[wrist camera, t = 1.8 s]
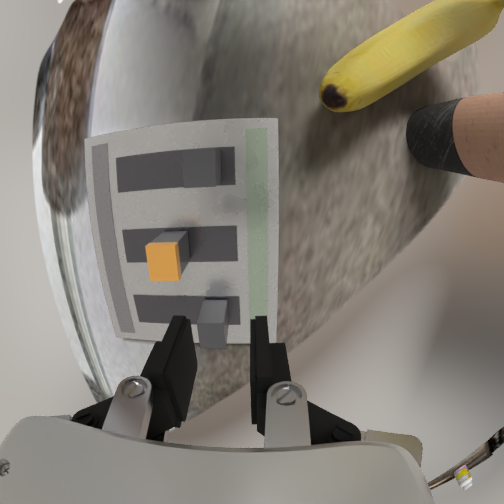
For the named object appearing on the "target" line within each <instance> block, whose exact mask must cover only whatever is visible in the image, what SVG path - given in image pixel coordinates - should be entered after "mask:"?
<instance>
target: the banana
mask: <svg viewBox="0 0 504 504" xmlns="http://www.w3.org/2000/svg"><path fill="white" fill-rule="evenodd" d="M503 8H504V0H435V1H433V2H431V3H429V4H427V5H425V6H424V7H422V8H420V9H418V10H416V11H415V12H413V13H411V14H409V15H408V16H406V17H404V18H403V19H401V20H399V21H397V22H396V23H394V24H392V25H390V26H389V27H387V28H385V29H384V30H382V31H380V32H379V33H377V34H375V35H374V36H372V37H371V38H369V39H367V40H366V41H364V42H363V43H362V44H360V45H359V46H357V47H356V48H354V49H353V50H352V51H350V52H349V53H348V54H346V55H345V56H344V57H343V58H341V59H340V60H339V61H338V62H337V63H335V64H334V65H333V66H332V67H331V68H330V69H329V70H328V71H327V73H326V74H325V76H324V78H323V80H322V83H321V85H320V89H319V97H320V100H321V102H322V103H323V104H324V106H325V107H326V108H328V109H330V110H331V111H334V112H349V111H355V110H359V109H362V108H364V107H366V106H368V105H370V104H371V103H373V102H375V101H377V100H378V99H380V98H382V97H384V96H385V95H387V94H388V93H390V92H392V91H393V90H395V89H396V88H398V87H400V86H401V85H403V84H404V83H406V82H407V81H409V80H411V79H412V78H414V77H415V76H417V75H418V74H420V73H421V72H423V71H425V70H426V69H428V68H429V67H431V66H433V65H434V64H436V63H438V62H439V61H441V60H443V59H445V58H447V57H448V56H450V55H452V54H454V53H456V52H457V51H459V50H461V49H463V48H465V47H467V46H468V45H470V44H472V43H474V42H476V41H478V40H479V39H481V38H482V37H484V36H485V35H487V34H488V33H489V32H490V31H491V30H492V29H493V28H494V27H495V25H496V24H497V22H498V19H499V15H500V13H501V11H502V9H503Z"/></svg>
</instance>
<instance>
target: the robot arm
mask: <svg viewBox="0 0 504 504" xmlns="http://www.w3.org/2000/svg"><path fill="white" fill-rule="evenodd" d="M196 372H197V358H196V352H195V346H194V340H193V334H192V327H191V321H190V319H187V318H186V316H179V315H174V316H173V317H172V319H171V322H170V324H169V326H168V328H167V330H166V333H165V335H164V337H163V339H162V342H161V341H157V342H156V343H155V345H154V347H153V349H152V351H151V353H150V355H149V358H148V360H147V362H146V364H145V366H144V368H143V371H142V373H141V375H140V376H131V377H128V378H126V379H124V380H123V381H121V382H120V384H119V385H118V387H117V390H116V392H115V395H114V396H113V397H111V398H109V399H106V400H104V401H102V402H99V403H97V404H95V405H92V406H90V407H87V408H85V409H82V410H80V411H78V412H77V413H76V414H75V415H74V416H73V417H71V416H70V415H61V416H48V417H47V416H31V417H26V418H23V419H21V420H20V421H19V422H18V423H17V424H16V425H15V426H14V427H13V428H12V429H11V431H10V432H9V433H8V435H7V436H6V438H5V439H4V441H3V442H2V444H1V446H0V504H435V502H434V499H433V496H432V494H431V491H430V488H429V486H428V483H427V481H426V479H425V477H424V475H423V473H422V470H421V460H422V450H423V448H422V443H421V441H420V440H419V439H418V438H416V437H415V436H411V435H404V434H394V433H387V432H380V431H373V430H367V432H364V431H360V430H359V429H358V428H357V427H356V426H355V425H353V424H352V423H350V422H347V421H345V420H343V419H342V418H340V417H338V416H336V415H334V414H332V413H329V412H327V411H326V410H324V409H322V408H320V407H318V406H316V405H315V404H313V403H311V402H309V401H307V394H306V391H305V389H304V388H303V387H302V386H301V385H299V384H297V383H295V382H291V376H290V371H289V364H288V359H287V352H286V346H285V343H270V342H269V332H268V321H267V316H255V319H250V386H251V416H252V424H257V431H258V432H259V433H261V434H262V435H263V436H265V439H264V448H221V447H204V446H203V447H202V446H192V445H182V444H174V443H168V437H169V429H171V428H173V427H178V428H180V426H181V421H185V420H186V416H187V412H188V407H189V403H190V398H191V394H192V389H193V385H194V380H195V376H196Z"/></svg>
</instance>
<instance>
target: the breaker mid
mask: <svg viewBox="0 0 504 504" xmlns="http://www.w3.org/2000/svg"><path fill="white" fill-rule="evenodd" d="M145 248H146V256H147V263H148V269H149V275H150V281H179V280H180V279H181V277H182V273H183V272H184V270H185V268H186V266H187V265H188V263H189V261H190V252H189V240H188V231H163V232H162V233H161V234H160V235H159V236H158V237H157V238H155V239H154V240H153V241H152V242H151V243H148V244H147V245H146V246H145Z"/></svg>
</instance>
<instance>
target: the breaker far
mask: <svg viewBox="0 0 504 504" xmlns="http://www.w3.org/2000/svg"><path fill="white" fill-rule="evenodd" d="M228 328H229V316H228V301H227V300H204V301H203V304H202V307H201V310H200V314H199V317H198V320H197V330H198V336H199V343H200V348H204V349H226V344H227V336H228Z"/></svg>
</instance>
